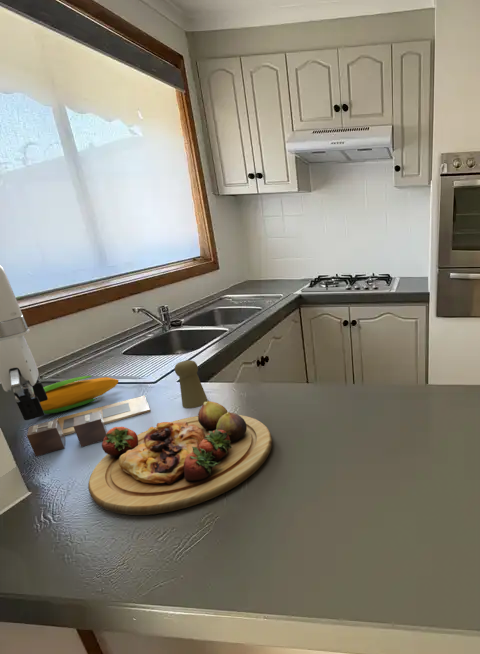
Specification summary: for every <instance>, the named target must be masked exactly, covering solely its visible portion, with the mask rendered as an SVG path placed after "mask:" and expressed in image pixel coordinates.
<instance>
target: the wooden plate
mask: <svg viewBox="0 0 480 654" xmlns="http://www.w3.org/2000/svg"><path fill="white" fill-rule="evenodd" d="M272 447H273V437H272V433H271V432H270V429H269V428H268V427H267V426H266V425H265V424H264V423H262V422H261V421H259V420H258V419H256V418H255V417H250V416H247V415H243V414H238V413H235V412H230V411H228V410H227V408H226V407H225V406H223V405H222V404H221V403H218V402H215V401H210V400H208V401H207V402H204V403H203V404H202V405H201V406H200V409H199V410H198V414H197V415H195V416H189V417H185V418H179V419H176V420H173V421H162V422H161V421H160V422H157V423H156V426H155V427H154V426H150V427H149V428H148V429H147V430H145V431H143V432H140V433H139V434H137V433H136V431H134V430H132V429H131V428H128V427H125V426H115V427H112V428H110V429H109V430H107V433H106V436H105V438H104V440H103V441H102V442H101V448H102V450H103V453H104V454H106V455H105V456H103V458H102V459H101V460H100V461H98V463H97V464H96V465H95V467H94V469H93V470H92V472H91V474H90V475H89V480H88V484H87V485H88V486H87V488H88V492H89V495H90V497H91V499H92V500H93V502H94V503H95V504H96V505H97V506H99V507H100V508H102V509H104V510H107V511H109V512H112V513H115V514H122V515H129V516H146V515H147V516H149V515H157V514H163V513H169V512H174V511H177V510H181V509H186V508H190V507H193V506H197V505H198V504H202V503H205V502H207V501H209V500H212V499H214V498H216V497H218V496H220V495H222V494H225V493H227V492H229V491H230V490H232V489H234V488H236V487H238V486H239V485H240V484H241V483H243V482H245V481H247V479H249V478H250V477H251V476H252V475H253V474H255V472H257V471H258V470H259V469H260V468H261V466H262V465H263V464H264V463H265V462H266V460H267V459H268V458H269V455H270V453H271V450H272Z"/></svg>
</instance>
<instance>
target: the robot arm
mask: <svg viewBox="0 0 480 654" xmlns="http://www.w3.org/2000/svg"><path fill="white" fill-rule="evenodd" d="M29 333H30V328H29V327H28V325H27V322H26V319H25V317H24V314H23V313H22V310H21V307H20V305H19V303H18V300H17V298H16V296H15V293H14V291H13V288H12V286H11V283H10V280H9V278H8V276H7V273H6V271H5V269H4V268H3V266H2V265H1V264H0V385H1V387H2V389H3V391H4V392H6V393H10V392H11V391H13V395H14V397H15V398H14V399H15V401H16V404H17V406H18V409H19V411H20V413H21V416H22V418H23V420H24V421H29V420H33V419H37V418H41V417H43V416H45V414H44V411H43V409H42V406H41V404H40V402H42V401H46V400H47V399H48V397H47V395H46V392H45V390H44V388H43V387H44V386H43V383H42V382H41V380H40V378H39V375H40V372H39V369H38V365H37V363H36V360H35V358H34V356H33V353H32V351H31V349H30V348H31V347H30V346H29V344H28V342H27V339H26V337H25V335H27V334H29Z"/></svg>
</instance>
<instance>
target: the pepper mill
mask: <svg viewBox="0 0 480 654" xmlns="http://www.w3.org/2000/svg"><path fill="white" fill-rule="evenodd" d="M198 371H199V366H198V364H197V363H196V361H195V360H191V359H188V360H183V361H179V362H177V363H176V364H175V366H174V372H175V374H176V376H177V377H178V379H179V389H180V395H181V396H180V397H181V405H182V408H184V409H194V408H195V409H196V408H199V407H202V404H203V403H204V402H208V401H209V400H208V397H207V394H206V391H205V390H204V387H203V385H202V382H201V379H200V378H199V375H198Z"/></svg>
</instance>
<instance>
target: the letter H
mask: <svg viewBox="0 0 480 654" xmlns="http://www.w3.org/2000/svg"><path fill="white" fill-rule="evenodd" d="M55 419H56V418H55ZM26 438H27V440H28V442H29V445H30V447H31V449H32V451H33V454H34V456H35V457H36V456H37V457H39V455H40V456H43V455H47V454H50V453H53V452H58V451H60V450H63V449H65V448H66V437H65V436H64V434H63V432H62V429H61V427H60V424H59V422H58V419H56V420H54V419H53V420H49V421H45V422H41V423H37V424H34V425H29V426H28V430H27V434H26ZM46 453H47V454H46Z"/></svg>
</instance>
